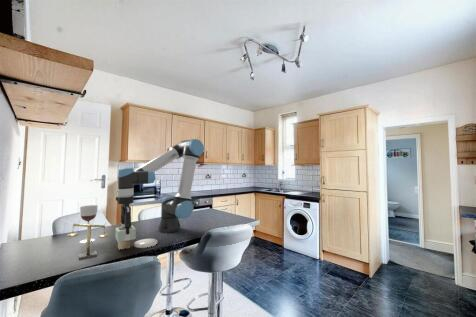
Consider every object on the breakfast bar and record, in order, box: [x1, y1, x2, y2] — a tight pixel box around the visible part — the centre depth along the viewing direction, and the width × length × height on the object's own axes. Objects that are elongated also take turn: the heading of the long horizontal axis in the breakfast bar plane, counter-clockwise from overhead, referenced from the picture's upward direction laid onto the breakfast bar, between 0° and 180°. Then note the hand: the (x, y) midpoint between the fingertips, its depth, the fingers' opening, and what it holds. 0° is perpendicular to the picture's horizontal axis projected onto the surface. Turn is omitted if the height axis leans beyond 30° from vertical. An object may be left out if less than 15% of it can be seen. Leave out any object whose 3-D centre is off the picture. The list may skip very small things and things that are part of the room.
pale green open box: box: [114, 224, 137, 243], centre depth 116 cm, size 8×8×6 cm
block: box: [117, 229, 131, 251], centre depth 115 cm, size 5×5×9 cm
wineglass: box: [79, 204, 99, 244], centre depth 125 cm, size 8×9×20 cm
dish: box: [134, 238, 159, 249], centre depth 120 cm, size 12×12×1 cm
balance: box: [66, 223, 110, 260], centre depth 103 cm, size 17×5×16 cm, turn 128°
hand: (125, 237), depth 116 cm, fingers closed on pale green open box, 8 cm apart
